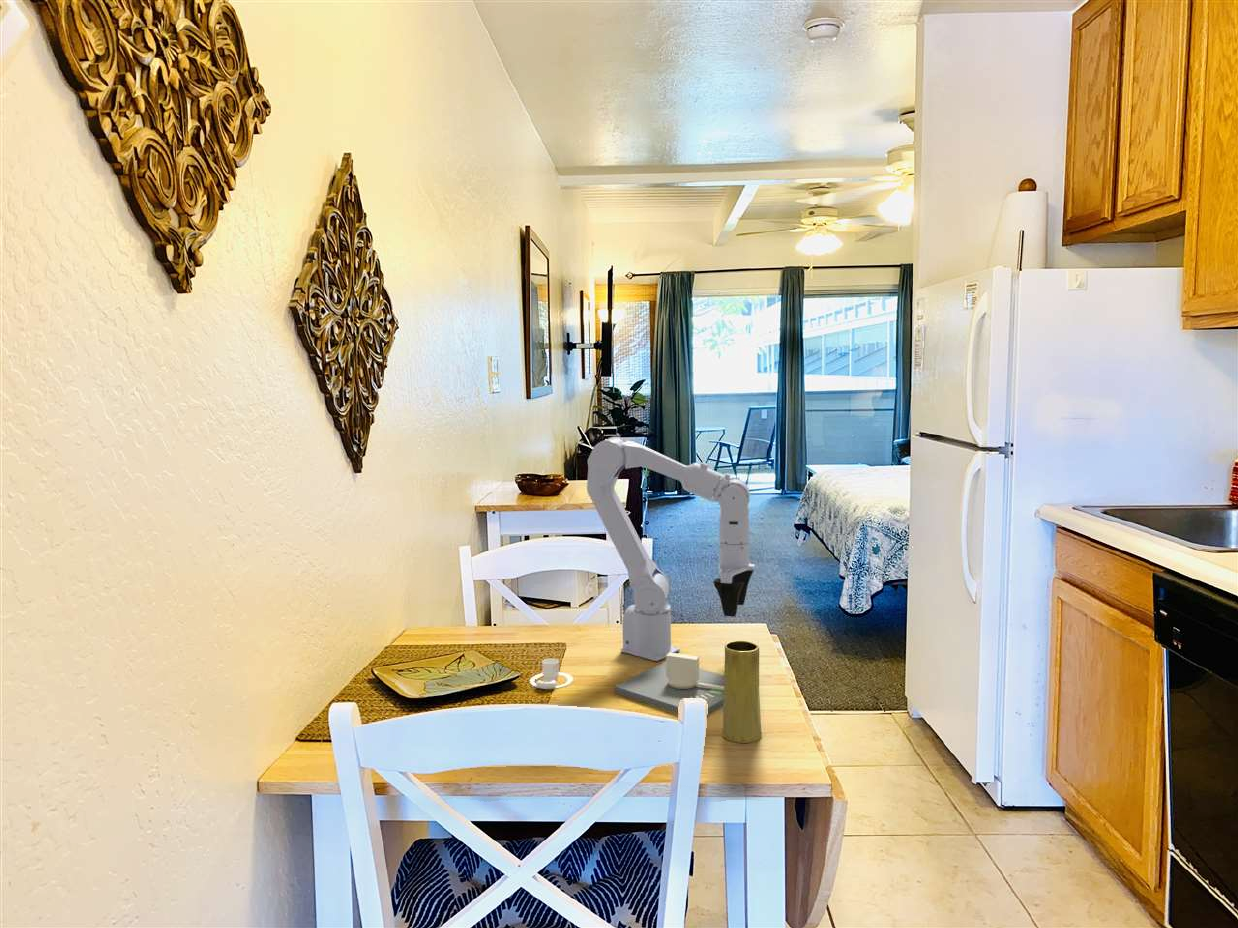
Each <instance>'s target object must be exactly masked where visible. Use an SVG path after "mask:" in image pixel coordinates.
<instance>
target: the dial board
mask: <svg viewBox="0 0 1238 928" xmlns="http://www.w3.org/2000/svg"><path fill="white" fill-rule="evenodd" d="M697 682H699V683H705V684H712V685H718V686H724V674H721V673H717V672H713V671H711V670H710V671H709V670H706V669H703V668H699V680H698V681H697ZM613 688H614V689H613V690H614V693H615V694H618V695H620V696H623V697H627V698H630V699H631V700H636V701H638V702H642V703H644V704H648V705H650V706H653V707H657V708H660V709H663V710H665V711H666V710H667V711H669V712H671V713H675V714H678V706H679V702H680V700H681V699H683V698H703V699H705V700H706V701H707V704H708V715H707V716H709V715H711V714H712V713H714V712H716V711H718V710H719V709H720V708H723V703H724V690H718V689H712V688H706V687H700V686H695V687H693V688H690V689H677V688H673V687H671V686H670V685H669V683H668V677H666V661H664V662H662V663H660V664H657V665H655V666H654V667H651V668H649V669H648V670H645V671H643V672H641V673H639V674H637V675H635V676H633V677H631V678H628V679H626V680H624V681H622V682H620V683H618V684H616V685H614V687H613Z"/></svg>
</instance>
